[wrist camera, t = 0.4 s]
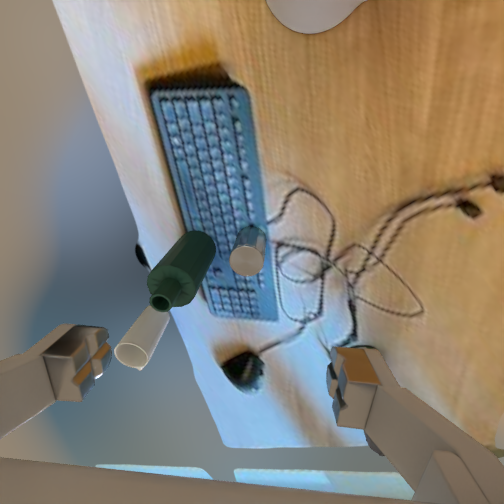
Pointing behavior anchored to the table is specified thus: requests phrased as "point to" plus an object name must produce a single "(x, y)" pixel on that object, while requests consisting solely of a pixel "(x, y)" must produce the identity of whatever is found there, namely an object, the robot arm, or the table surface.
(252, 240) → the cap
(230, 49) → the table surface
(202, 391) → the table surface
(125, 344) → the mug
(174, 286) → the bottle
